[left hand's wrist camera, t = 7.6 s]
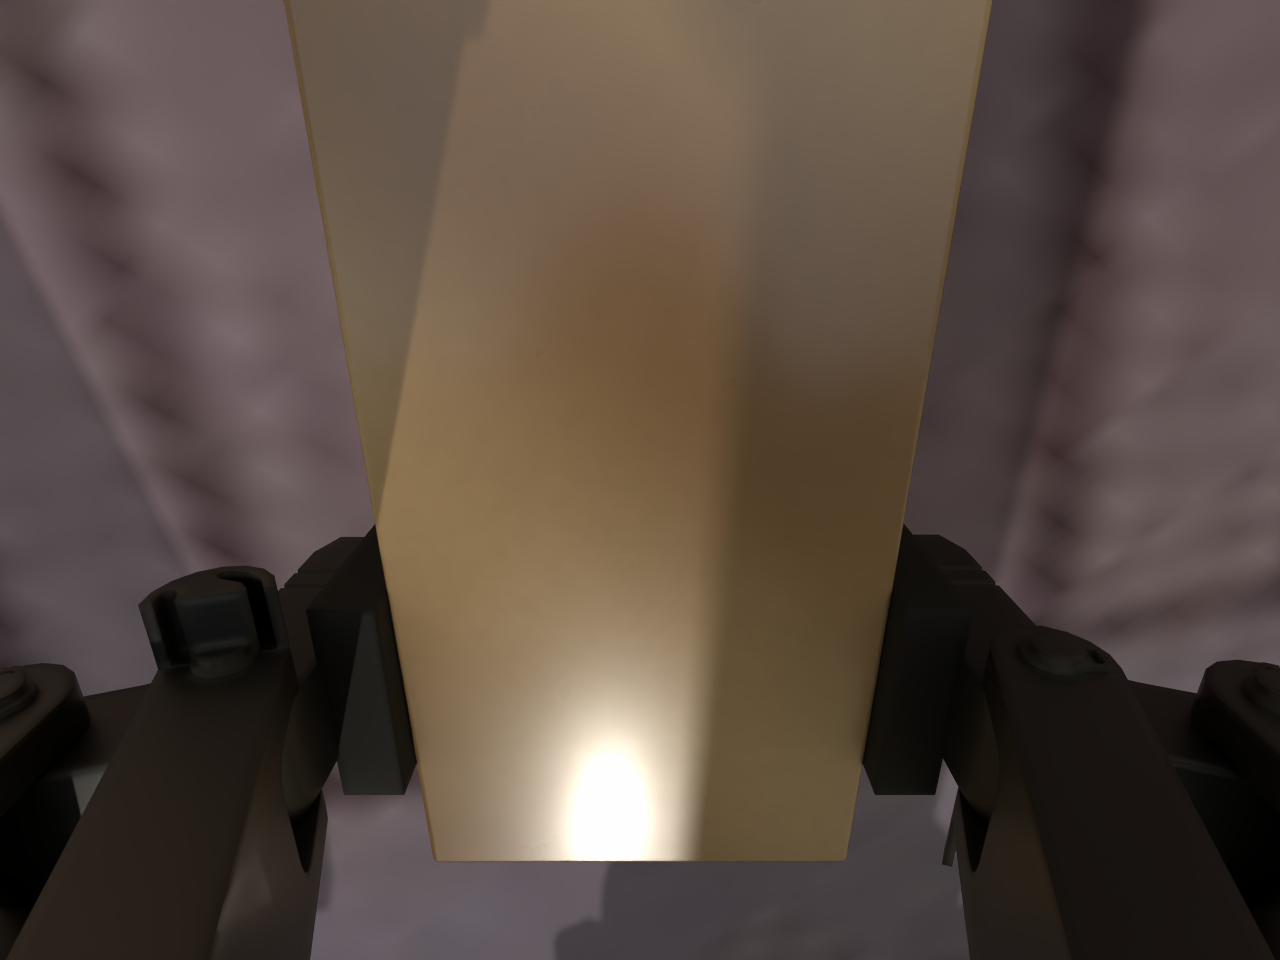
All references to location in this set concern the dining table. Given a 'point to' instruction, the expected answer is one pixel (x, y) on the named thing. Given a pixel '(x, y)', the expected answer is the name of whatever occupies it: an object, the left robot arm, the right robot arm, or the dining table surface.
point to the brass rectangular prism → (638, 392)
